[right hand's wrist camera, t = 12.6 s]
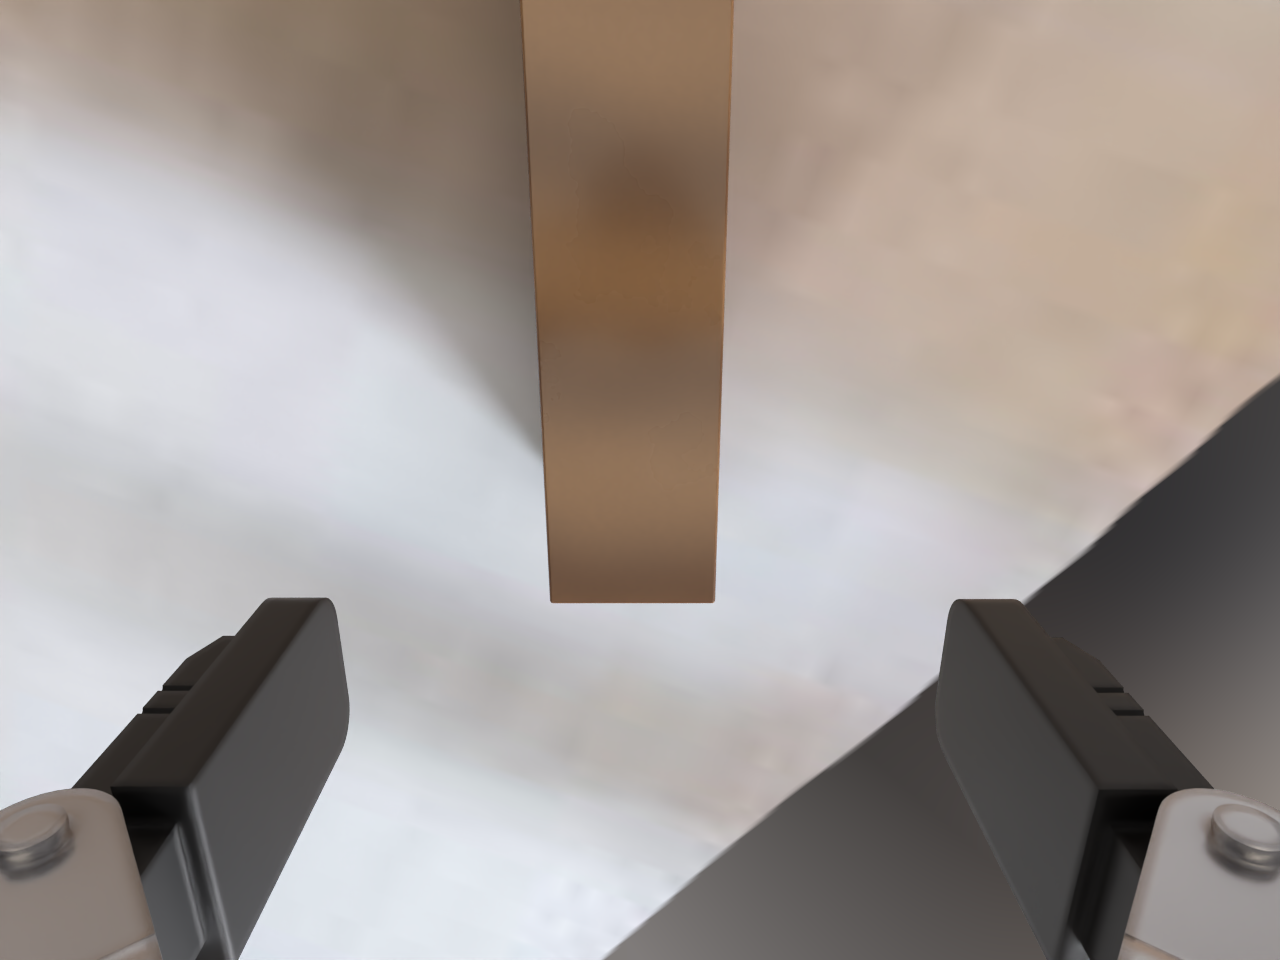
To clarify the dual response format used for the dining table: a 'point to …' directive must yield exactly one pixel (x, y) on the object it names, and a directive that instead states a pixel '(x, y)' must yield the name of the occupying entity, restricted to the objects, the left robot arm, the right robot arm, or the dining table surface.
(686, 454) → the beam
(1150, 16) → the dining table surface
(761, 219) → the dining table surface
